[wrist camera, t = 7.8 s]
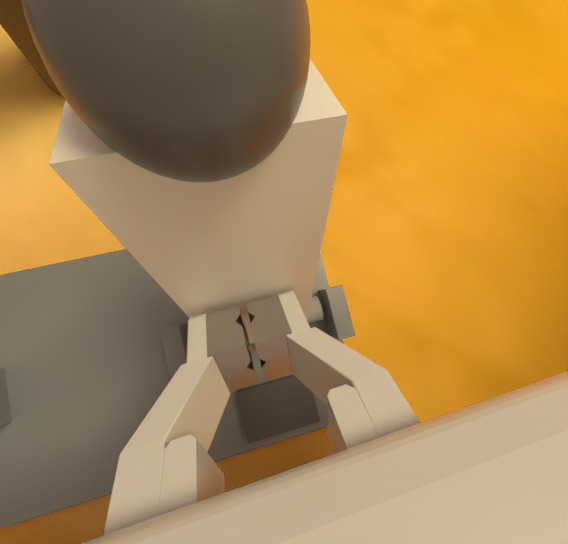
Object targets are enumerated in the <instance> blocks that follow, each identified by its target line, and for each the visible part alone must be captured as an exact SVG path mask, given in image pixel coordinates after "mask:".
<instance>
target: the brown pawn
mask: <svg viewBox="0 0 568 544" xmlns="http://www.w3.org/2000/svg"><path fill="white" fill-rule="evenodd" d="M0 24H1V26H2V27H3V28H4V30H5V31H6V32H7V33H8V35H9V36H10V37H11V39H12V40H13V41H14V43H15V44H16V45H17V46H18V48H19V49H20V50H21V52H22V53H23V54H24V56H25V57H26V58H27V59H28V61H29V62H30V63H31V65H32V66H33V67H34V69H35V70H36V71H37V72H38V74H39V75H40V76H41V78H42V79H43V80H44V82H45V83H46V84H47V85H48V87H50V88H51V89H52V90H54V91H55V92H56V93H58V94H59V95H60V96H62V95H61V93H60V92H59V90H58V88H57V87H56V85H55V83H54V82H53V80H52V78H51V77H50V75H49V73H48V71H47V69H46V67H45V65H44V63H43V61H42V59H41V56H40V54H39V52H38V50H37V48H36V46H35V43H34V41H33V38H32V35H31V32H30V29H29V26H28V23H27V21H26V18H25V15H24V10H23V5H22V1H21V0H0Z"/></svg>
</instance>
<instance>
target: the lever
mask: <svg viewBox="0 0 568 544" xmlns="http://www.w3.org/2000/svg"><path fill="white" fill-rule="evenodd" d="M21 1H22V5H23V10H24V15H25V18H26V21H27V23H28V26H29V29H30V32H31V35H32V38H33V41H34V43H35V46H36V48H37V50H38V52H39V54H40V56H41V59H42V61H43V63H44V65H45V67H46V69H47V71H48V73H49V75H50V77H51V78H52V80H53V82H54V83H55V85H56V87H57V88H58V90H59V92H60V93H61V95H62V96H63V97H64V99H65V100H66V101H65V105H64V108H63V112H62V116H61V120H60V124H59V127H58V131H57V135H56V139H55V142H54V146H53V150H52V154H51V158H50V161H49V165H50V166H51V167H52V168H53V169H54V170H55V171H56V172H57V173H58V175H59V176H60V177H61V178H62V179H63V180H64V181H65V182H66V183H67V184H68V185H69V187H70V188H71V189H72V190H73V191H74V192H75V193H76V194H77V195H78V196H79V198H80V199H81V200H82V201H83V202H84V203H85V204H86V205H87V206H88V207H89V208H90V210H91V211H92V212H93V213H94V214H95V215H96V216H97V217H98V218H99V219H100V221H101V222H102V223H103V224H104V225H105V226H106V227H107V228H108V229H109V230H110V231H111V233H112V234H113V235H114V236H115V237H116V238H117V239H118V240H119V241H120V242H121V244H122V245H123V246H124V247H125V248H126V249H127V250H128V251H129V252H130V253H131V254H132V256H133V257H134V258H135V259H136V260H137V261H138V262H139V263H140V264H141V265H142V267H143V268H144V269H145V270H146V271H147V272H148V273H149V274H150V275H151V276H152V277H153V279H154V280H155V281H156V282H157V283H158V284H159V285H160V286H161V287H162V288H163V290H164V291H165V292H166V293H167V294H168V295H169V296H170V297H171V298H172V299H173V300H174V302H175V303H176V304H177V305H178V306H179V307H180V308H181V309H182V310H183V311H184V313H185V314H186V315H187V316H188V317H189V318H190V317H193V316H197V315H201V314H206V313H208V312H212V311H217V310H221V309H225V308H229V307H233V306H238V305H239V306H240V309H241V312H242V317H243V322H244V323H245V326H246V329H247V333H248V337H249V341H250V344H252V343H255V342H254V338H253V333H252V329H251V322H250V318H249V314H248V310H247V305H246V303H249V302H252V301H256V300H260V299H263V298H267V297H271V296H274V295H278V294H281V293H285V292H288V291H293V292H294V293H295V295H296V297H297V300H298V302H299V304H300V306H301V309H302V311H303V313H304V315H305V317H306V320H307V322H308V323H312V322H316V321H320V320H323V311H322V307H321V303H320V301H319V299H318V297H317V296H314V297H312V292H313V287H314V282H315V277H316V272H317V267H318V261H319V256H320V251H321V246H322V241H323V236H324V231H325V226H326V221H327V216H328V210H329V205H330V200H331V195H332V190H333V185H334V180H335V175H336V170H337V165H338V160H339V154H340V149H341V144H342V139H343V134H344V129H345V124H346V119H347V113H346V112H345V110H344V109H343V107H342V106H341V104H340V103H339V101H338V100H337V98H336V97H335V95H334V94H333V92H332V91H331V89H330V88H329V86H328V85H327V84H326V82H325V81H324V79H323V78H322V76H321V75H320V73H319V72H318V70H317V69H316V67H315V66H314V64H313V63H312V61H311V60H310V25H309V14H308V7H307V2H306V0H21Z"/></svg>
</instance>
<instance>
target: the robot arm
mask: <svg viewBox="0 0 568 544" xmlns="http://www.w3.org/2000/svg"><path fill="white" fill-rule="evenodd" d="M246 305H247V310H248V314H249V318H250V322H251V329H252V333H253V338H254V342H255V346H256V350H257V353H258V357H259V359H260V363H261V367H262V371H263V374H264V377H265V380H269V379H272V378H276V377H280V376H283V375H287V374H291V373H293V375H294V376H295V377H296V378H297V379H298V380H300V381H301V382H302V383H303V384H304V385H305V386H306V387H307V388H308V389H309V390H311V391H312V392H313V393H314V394H315V395H316V396H317V397H318V398H319V399H321V400H322V401H323V402H324V403H325V404H326V405H327V416H328V440H329V443H330V446H331V449H332V452H333V454H331V455H328V456H325V457H323V458H320V459H317V460H314V461H311V462H308V463H306V464H303V465H300V466H297V467H294V468H292V469H289V470H286V471H283V472H280V473H277V474H275V475H272V476H269V477H266V478H263V479H261V480H258V481H255V482H252V483H249V484H247V485H244V486H241V487H238V488H235V489H232V490H230V491H227V492H226V491H225V479H224V473H223V472H222V471H221V469H220V468H219V467H218V466H217V464H216V463H215V462H214V460H213V459H212V458H211V457H210V455H209V454H208V453H207V452H208V449H209V447H210V444H211V442H212V439H213V437H214V434H215V432H216V429H217V427H218V424H219V422H220V419H221V417H222V414H223V411H224V409H225V406H226V404H227V401H228V399H229V396H230V392H232V391H235V390H238V389H241V388H244V387H247V386H249V385H252V384H255V383H258V382H257V376H256V371H255V366H254V362H253V358H252V355H251V352H252V351H251V346H250V341H249V337H248V333H247V329H246V326H245V323H244V322H243V317H242V312H241V309H240V306H239V305H238V306H233V307H229V308H225V309H221V310H217V311H212V312H208V313H206V314H201V315H197V316H193V317H190V318H189V320H188V335H187V361H186V364H183V365H181V366H180V367H179V369H178V370H177V372H176V373H175V375H174V376H173V378H172V379H171V380H170V382H169V383H168V385H167V386H166V388H165V389H164V391H163V392H162V394H161V395H160V397H159V398H158V399H157V401H156V402H155V404H154V405H153V407H152V408H151V410H150V411H149V413H148V414H147V416H146V417H145V418H144V420H143V421H142V423H141V424H140V426H139V427H138V429H137V430H136V432H135V433H134V435H133V436H132V437H131V439H130V440H129V442H128V443H127V445H126V446H125V448H124V449H123V451H122V452H121V454H120V456H119V461H118V466H117V470H116V475H115V480H114V485H113V490H112V495H111V499H110V504H109V509H108V514H107V519H106V524H105V529H104V533H103V536H100V537H97V538H95V539H92V540H89V541H86V542H83V543H80V544H568V370H567V371H565V372H562V373H559V374H556V375H553V376H551V377H548V378H545V379H542V380H539V381H536V382H534V383H531V384H528V385H525V386H522V387H520V388H517V389H514V390H511V391H508V392H506V393H503V394H500V395H497V396H494V397H491V398H489V399H486V400H483V401H480V402H477V403H475V404H472V405H469V406H466V407H463V408H460V409H458V410H455V411H452V412H449V413H446V414H444V415H441V416H438V417H435V418H432V419H429V420H427V421H424V422H420V421H419V419H418V418H417V416H416V414H415V413H414V411H413V410H412V408H411V407H410V405H409V404H408V402H407V400H406V399H405V397H404V396H403V394H402V393H401V391H400V389H399V388H398V386H397V385H396V383H395V382H394V380H393V379H392V377H391V375H390V374H389V372H388V371H387V370H386V369H384V368H383V367H381V366H379V365H378V364H376V363H374V362H373V361H371V360H369V359H368V358H366V357H364V356H363V355H361V354H359V353H358V352H356V351H354V350H353V349H351V348H349V347H348V346H346V345H344V344H343V343H341V342H339V341H338V340H336V339H334V338H333V337H331V336H329V335H328V334H326V333H324V332H323V331H321V330H319V329H318V328H316V327H313V328H310V326H309V324H308V322H307V320H306V317H305V315H304V313H303V311H302V309H301V306H300V304H299V302H298V300H297V297H296V295H295V293H294V292H293V291H288V292H285V293H281V294H278V295H274V296H271V297H267V298H263V299H260V300H256V301H252V302H249V303H246Z"/></svg>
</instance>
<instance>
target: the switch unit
mask: <svg viewBox="0 0 568 544" xmlns="http://www.w3.org/2000/svg"><path fill="white" fill-rule="evenodd" d="M314 296H317V297H318V299H319V301H320V303H321V307H322V311H323V320H320V321H316V322H312V323H308V324H309V326H310V328H313V327H316V328H318V329H319V330H321V331H323V332H324V333H326V334H328V335H329V336H331V337H333V338H334V339H336V340H338V341H339V342H341V343H343V340H342V339H343V338H347V337H351V336H354V335H355V332H354V329H353V325H352V321H351V317H350V313H349V309H348V306H347V302H346V298H345V294H344V290H343V287H342V285H340V286H335V287H330V288H329V285H328V281H327V277H326V274H325V270H324V266H323V262H322V258H321V254H320V256H319V261H318V267H317V272H316V277H315V282H314V287H313V292H312V297H314ZM188 320H189V317H188V316H187V315H186V314H185V313H184V311H183V310H182V309H181V308H180V307H179V306H178V305H177V304H176V303H175V302H174V300H173V299H172V298H171V297H170V296H169V295H168V294H167V293H166V292H165V291H164V290H163V288H162V287H161V286H160V285H159V284H158V283H157V282H156V281H155V280H154V279H153V277H152V276H151V275H150V274H149V273H148V272H147V271H146V270H145V269H144V268H143V267H142V265H141V264H140V263H139V262H138V261H137V260H136V259H135V258H134V257H133V256H132V254H131V253H130V252H129V251H128V250H127V249H124V250H119V251H114V252H109V253H105V254H100V255H95V256H90V257H85V258H80V259H76V260H71V261H66V262H61V263H56V264H52V265H47V266H42V267H37V268H32V269H28V270H23V271H18V272H13V273H8V274H4V275H0V528H3V527H6V526H9V525H12V524H16V523H19V522H22V521H25V520H28V519H32V518H35V517H38V516H41V515H44V514H48V513H51V512H54V511H57V510H60V509H64V508H67V507H70V506H73V505H76V504H80V503H83V502H86V501H89V500H92V499H96V498H99V497H102V496H105V495H109V494H112V490H113V485H114V480H115V475H116V470H117V466H118V461H119V456H120V454H121V452H122V451H123V449H124V448H125V446H126V445H127V443H128V442H129V440H130V439H131V437H132V436H133V435H134V433H135V432H136V430H137V429H138V427H139V426H140V424H141V423H142V421H143V420H144V418H145V417H146V416H147V414H148V413H149V411H150V410H151V408H152V407H153V405H154V404H155V402H156V401H157V399H158V398H159V397H160V395H161V394H162V392H163V391H164V389H165V388H166V386H167V385H168V383H169V382H170V380H171V379H172V378H173V376H174V375H175V373H176V372H177V370H178V369H179V367H180V366H181V365H183V364H186V361H187V335H188ZM250 346H251V351H252V352H251V355H252V358H253V362H254V366H255V371H256V376H257V382H258V383H255V384H252V385H249V386H247V387H244V388H241V389H238V390H235V391H232V392H230V396H229V399H228V401H227V404H226V406H225V409H224V411H223V414H222V417H221V419H220V422H219V424H218V427H217V429H216V432H215V434H214V437H213V439H212V442H211V444H210V447H209V449H208V452H207V453H208V454H209V455H210V457H211V458H212V459H213V460H214V461H217V460H221V459H224V458H227V457H230V456H233V455H237V454H240V453H243V452H246V451H249V450H253V449H256V448H259V447H262V446H265V445H269V444H272V443H275V442H278V441H281V440H285V439H288V438H291V437H294V436H297V435H301V434H304V433H307V432H310V431H313V430H317V429H320V428H323V427H326V426H328V416H327V405H326V404H325V403H324V402H323V401H322V400H321V399H319V398H318V397H317V396H316V395H315V394H314V393H313V392H312V391H311V390H309V389H308V388H307V387H306V386H305V385H304V384H303V383H302V382H301V381H300V380H298V379H297V378H296V377H295V376H294V375H293V373H291V374H287V375H283V376H280V377H276V378H272V379H269V380H265V377H264V374H263V371H262V367H261V363H260V359H259V357H258V353H257V350H256V346H255V343H252V344H250Z"/></svg>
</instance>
